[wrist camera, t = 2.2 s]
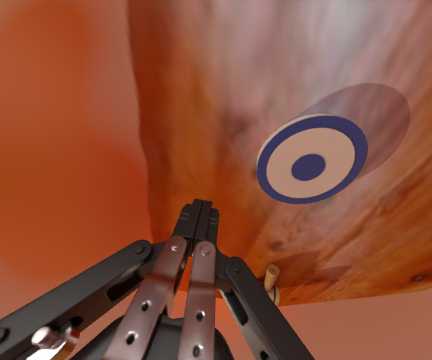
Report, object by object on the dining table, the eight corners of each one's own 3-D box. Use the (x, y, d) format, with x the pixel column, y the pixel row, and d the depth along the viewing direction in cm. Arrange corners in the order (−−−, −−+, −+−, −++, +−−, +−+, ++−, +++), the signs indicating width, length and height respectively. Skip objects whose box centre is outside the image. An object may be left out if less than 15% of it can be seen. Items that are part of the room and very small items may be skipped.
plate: (388, 123, 19) (397, 127, 18) (325, 205, 27) (329, 211, 26) (274, 104, 19) (276, 106, 18) (246, 191, 27) (246, 196, 26)
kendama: (253, 257, 41) (245, 294, 49) (261, 281, 35) (251, 320, 43) (281, 255, 41) (269, 293, 50) (293, 279, 36) (277, 317, 44)
